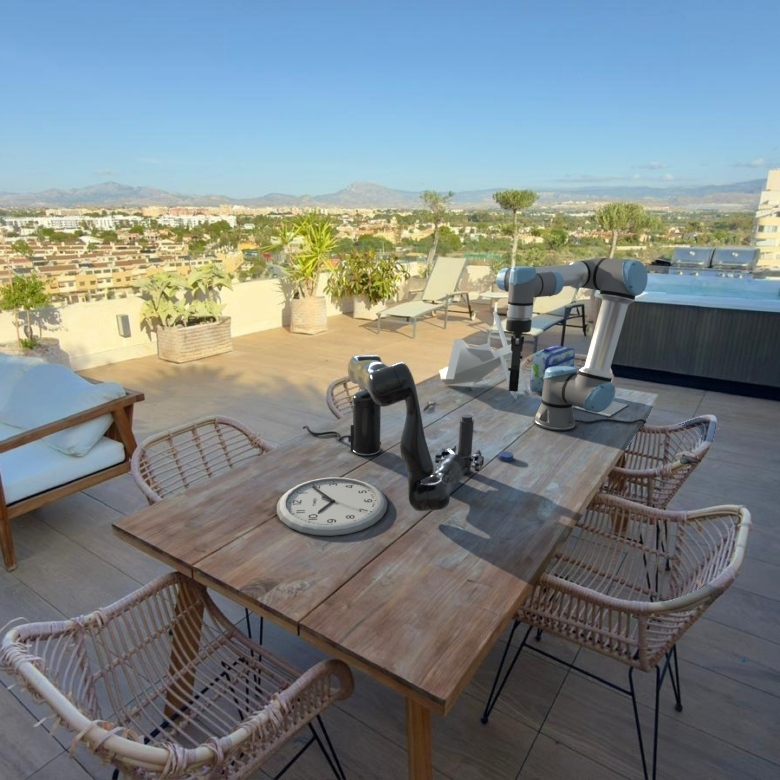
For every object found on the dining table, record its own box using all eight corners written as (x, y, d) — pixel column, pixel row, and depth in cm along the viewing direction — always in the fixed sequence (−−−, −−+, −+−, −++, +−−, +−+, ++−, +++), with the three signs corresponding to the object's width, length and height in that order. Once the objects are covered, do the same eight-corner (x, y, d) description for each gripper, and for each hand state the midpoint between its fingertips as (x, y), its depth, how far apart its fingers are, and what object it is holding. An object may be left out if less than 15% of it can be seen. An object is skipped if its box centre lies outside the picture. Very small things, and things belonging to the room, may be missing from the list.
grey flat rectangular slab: (608, 416, 214) (573, 407, 224) (608, 416, 214) (573, 408, 224) (628, 404, 229) (594, 396, 238) (628, 405, 229) (594, 397, 238)
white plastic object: (461, 429, 252) (437, 405, 227) (444, 352, 274) (420, 323, 250) (535, 404, 240) (518, 377, 215) (510, 326, 262) (492, 293, 237)
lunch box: (546, 399, 235) (551, 353, 228) (525, 393, 242) (530, 349, 236) (574, 387, 252) (579, 345, 246) (553, 383, 260) (558, 341, 253)
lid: (511, 456, 176) (512, 451, 175) (514, 462, 171) (514, 457, 171) (497, 455, 176) (498, 451, 176) (499, 461, 172) (499, 456, 171)
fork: (420, 411, 216) (420, 406, 216) (430, 400, 230) (431, 395, 230) (426, 412, 215) (426, 407, 215) (436, 401, 230) (436, 396, 229)
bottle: (454, 471, 164) (457, 415, 158) (461, 467, 167) (465, 412, 161) (465, 475, 161) (469, 419, 156) (472, 471, 164) (476, 415, 159)
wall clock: (392, 527, 129) (268, 531, 127) (391, 533, 130) (269, 537, 127) (383, 473, 158) (282, 475, 155) (383, 478, 158) (282, 480, 156)
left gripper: (474, 464, 146) (490, 443, 160) (426, 454, 152) (445, 435, 166) (473, 488, 148) (488, 466, 162) (425, 478, 154) (444, 457, 168)
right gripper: (508, 311, 172) (503, 373, 179) (504, 325, 149) (499, 395, 156) (531, 312, 170) (526, 374, 177) (531, 326, 147) (525, 397, 154)
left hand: (466, 450), depth 164 cm, fingers open, 7 cm apart
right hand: (513, 384), depth 166 cm, fingers open, 13 cm apart
